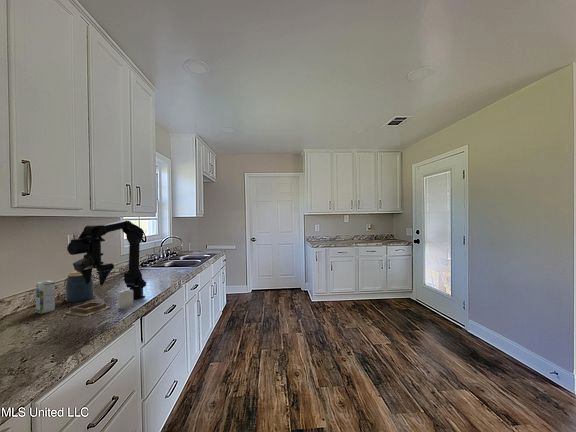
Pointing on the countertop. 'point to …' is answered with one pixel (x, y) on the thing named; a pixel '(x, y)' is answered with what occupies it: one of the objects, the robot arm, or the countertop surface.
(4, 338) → the countertop surface
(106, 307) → the holder
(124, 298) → the towel roll
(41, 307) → the syrup box
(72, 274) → the canister
